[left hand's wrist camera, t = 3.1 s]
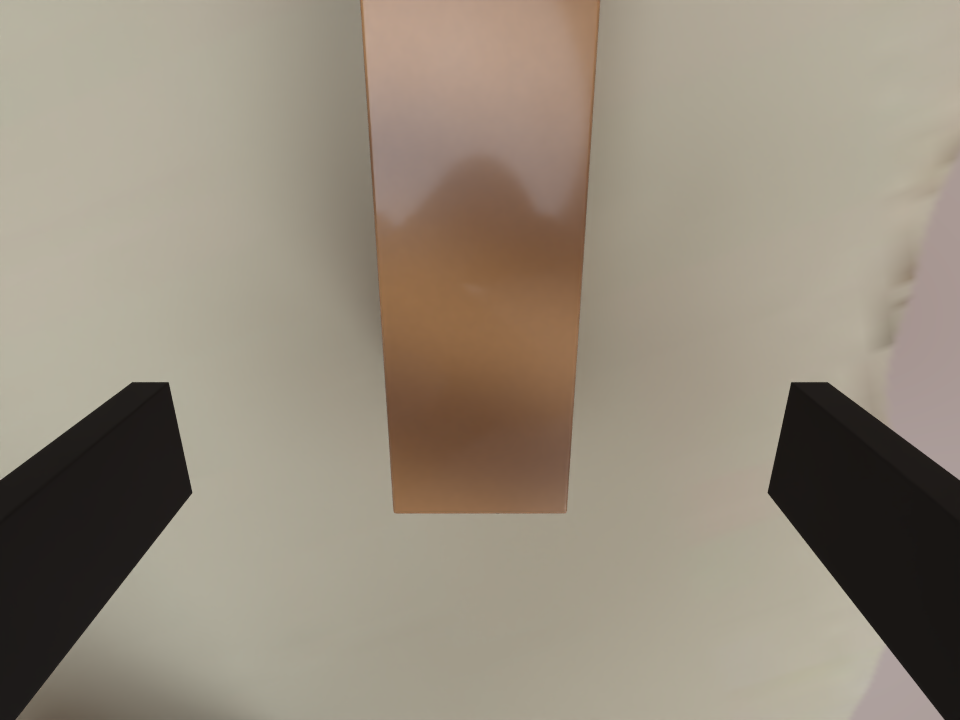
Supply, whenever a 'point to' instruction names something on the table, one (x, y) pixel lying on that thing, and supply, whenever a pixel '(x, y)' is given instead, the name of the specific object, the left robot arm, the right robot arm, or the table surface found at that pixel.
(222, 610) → the table surface
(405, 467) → the bar
